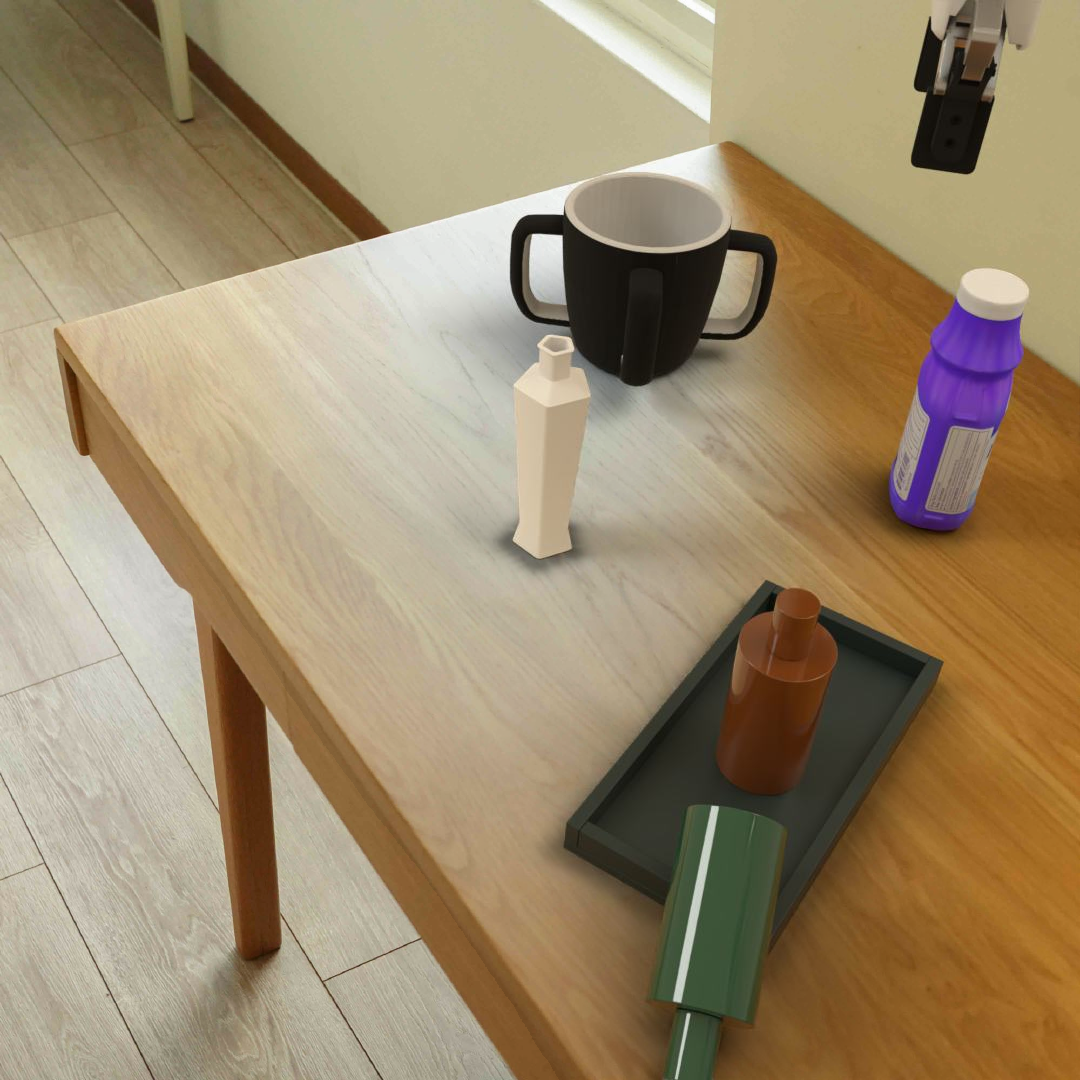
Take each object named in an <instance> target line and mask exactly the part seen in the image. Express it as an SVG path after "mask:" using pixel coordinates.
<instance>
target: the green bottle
mask: <svg viewBox="0 0 1080 1080" xmlns="http://www.w3.org/2000/svg"><path fill="white" fill-rule="evenodd" d="M787 838H788V831H787V829H786V828H785V827H784V826H782V825H781V824H779V823H778V822H776V821H774V820H772V819H769V818H767V817H764V816H762V815H759V814H756V813H752V812H749V811H745V810H741V809H736V808H731V807H725V806H718V805H693V806H689V807H687V808H686V809H685V810H684V814H683V819H682V824H681V829H680V834H679V838H678V843H677V848H676V853H675V858H674V863H673V868H672V872H671V877H670V882H669V887H668V892H667V897H666V902H665V906H663V912H662V917H661V921H660V926H659V931H658V936H657V941H656V946H655V951H654V955H653V961H652V966H651V970H650V975H649V979H648V984H647V989H646V995H645V1000H644V1001H645V1002H646V1004H647V1005H649V1006H651V1007H653V1008H655V1009H658V1010H661V1011H664V1012H666V1013H670V1014H672V1015H673V1018H672V1019H673V1020H672V1024H671V1029H670V1034H669V1039H668V1045H667V1050H666V1054H665V1059H664V1060H665V1061H664V1066H663V1071H662V1076H661V1078H662V1080H714V1076H715V1070H716V1065H717V1060H718V1055H719V1050H720V1049H719V1048H720V1042H721V1038H722V1037H721V1036H722V1034H723V1033H722V1032H723V1028H731V1029H738V1030H754V1029H755V1028H756V1023H757V1017H758V1013H759V1007H760V1006H759V1005H760V1001H761V995H762V989H763V984H764V979H765V978H764V977H765V971H766V965H767V959H768V957H767V954H768V949H769V943H770V937H771V931H772V925H773V920H774V914H775V908H776V902H777V896H778V891H779V885H780V879H781V873H782V867H783V862H784V856H785V850H786V844H787Z"/></svg>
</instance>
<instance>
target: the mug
mask: <svg viewBox="0 0 1080 1080" xmlns="http://www.w3.org/2000/svg"><path fill="white" fill-rule="evenodd" d="M732 222H733V216H732V213H731V210H730V208H729V207H728V204H727V203H726V202H725V201H724V200H723V199H722V198H721V197H720V196H719V195H718V194H717V193H715V192H713V191H712V190H710V189H709V188H707V187H705V186H703V185H701V184H699V183H696V182H694V181H692V180H688V179H685V178H682V177H679V176H675V175H669V174H666V173H658V172H650V171H649V172H648V171H624V172H615V173H610V174H604V175H600V176H596V177H593V178H591V179H588V180H586V181H584V182H582V183H581V184H579V185H577V186H576V187H575V188H573V189H572V190H571V191H570V192H569V194H568V195H567V196H566V199H565V200H564V205H563V213H562V214H556V213H555V214H553V213H552V214H551V213H548V214H547V213H544V214H543V213H542V214H541V213H540V214H539V213H537V214H526V215H524V216H522V217H521V218H519V220H517V222H516V224H515V226H514V227H513V229H512V232H511V237H510V251H509V252H510V253H509V284H510V288H511V294H512V296H513V299H514V301H515V304H516V305H517V308H518V309H519V311H520V313H521V314H522V315H523V316H524V317H525V318H527V319H528V320H530V321H532V322H534V323H537V324H543V325H548V326H557V327H563V328H570V329H569V330H570V333H571V336H572V340H573V342H574V344H575V348H576V350H577V351H578V352H579V354H580V355H581V356H582V357H583V358H584V359H585V360H586V361H587V362H588V363H590V364H592V365H593V366H595V367H596V368H599V369H602V370H603V371H606V372H609V373H612V374H616V375H619V380H620V381H621V382H622V383H623V384H625V385H627V386H631V387H645V386H647V385H649V384H650V383H651V382H652V380H653V377H654V376H659V375H664V374H667V373H669V372H672V371H674V370H676V369H678V368H679V367H681V366H683V364H685V362H687V361H688V359H689V358H690V357H691V356H692V354H693V352H694V350H695V348H696V347H697V345H698V343H699V341H700V340H709V341H710V340H713V341H736V340H740V339H743V338H745V337H747V336H748V335H749V334H751V333H753V331H754V330H755V329H756V327H757V326H758V325H759V323H760V322H761V321H762V319H763V318H764V317H765V314H766V312H767V309H768V306H769V304H770V301H771V296H772V292H773V291H772V290H773V287H774V283H775V278H776V272H777V266H778V265H777V264H778V252H777V248H776V246H775V243H774V242H773V240H772V238H771V237H769V236H767V235H766V234H762V233H757V232H753V231H746V230H739V229H732ZM533 235H546V236H561V237H562V238H561V239H562V241H561V242H562V272H563V284H564V295H565V304H558V303H550V302H545V301H540V300H538V299H537V297H536V296H535V295H534V292H533V291H532V288H531V282H530V255H531V244H532V239H533V238H532V237H533ZM728 251H733V252H745V253H752V254H756V262H755V263H756V264H755V269H754V270H755V271H754V277H753V282H752V287H751V291H750V295H749V298H748V301H747V304H746V305H745V307H744V309H743V310H742V311H741V313H740V314H738V315H737V316H736V317H734V318H720V317H719V318H718V317H717V318H716V317H709V315H710V314H711V313H710V312H711V310H712V307H713V304H714V301H715V298H716V294H717V291H718V289H719V287H720V282H721V279H722V275H723V270H724V266H725V263H726V258H727V253H728Z"/></svg>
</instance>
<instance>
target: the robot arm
mask: <svg viewBox="0 0 1080 1080" xmlns="http://www.w3.org/2000/svg"><path fill="white" fill-rule="evenodd" d="M1044 3H1045V0H930V16H928V20H927V25H926V29H925V33H924V37H923V42H922V44H921V45H922V46H921V50H920V54H919V57H918V61H917V67H916V70H915V74H914V79H913V88H914V90H915V91H916V92H918V93H925V97H924V102H923V106H922V109H921V113H920V118H919V122H918V124H917V125H918V126H917V130H916V134H915V138H914V142H913V146H912V150H911V154H910V163H911V165H912V167H914V168H918V169H924V170H931V171H936V172H937V171H938V172H945V173H950V174H951V173H953V174H958V175H965V176H967V175H971V174H972V173H974V172H975V170H976V167H977V164H978V160H979V157H980V154H981V150H982V146H983V142H984V140H985V135H986V132H987V130H988V129H987V128H988V125H989V122H990V118H991V115H992V111H993V108H994V104H995V100H996V97H995V95H994V94H995V90H996V85H997V82H998V81H997V80H998V75H999V69H1000V65H1001V60H1002V54H1003V49H1004V45H1005V41H1006V34H1007V39H1008V44H1009V45H1015V49H1016V51H1021V52H1023V51H1025V50H1026V49H1028V48H1030V47H1031V46H1032V45H1033V44H1034V42H1035V38H1036V34H1037V30H1038V27H1039V22H1040V18H1041V14H1042V11H1043V6H1044Z"/></svg>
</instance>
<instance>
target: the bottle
mask: <svg viewBox="0 0 1080 1080" xmlns="http://www.w3.org/2000/svg"><path fill="white" fill-rule="evenodd" d="M955 294H956V296H955V299H954V302H953V304H952V306H951V309H950V311H949V312H948V314H947V316H946V317H945V318H944V319H943V320H942V321H941V322H939V323H938V324H937V325H936V326H935V327H934V329H933V330H932V332H931V334H930V339H929V341H930V342H929V343H930V347H931V349H930V350H929V351H928V353H927V354H926V355H925V357H924V359H923V361H922V364H921V366H920V369H919V374H918V376H917V377H918V378H917V384H916V388H915V391H914V395H913V398H912V402H911V406H910V409H909V412H908V414H907V415H908V416H907V418H906V423H905V426H904V429H903V433H902V436H901V438H900V442H899V445H898V449H897V452H896V456H895V458H894V461H893V462H892V465H891V469H890V474H889V484H888V485H889V486H888V487H889V488H888V489H889V492H888V493H889V499H890V504H891V507H892V509H893V511H894V513H895V515H896V517H897V518H898V519H899V520H901V521H902V522H904V523H906V524H908V525H910V526H913V527H916V528H921V529H929V530H934V531H953V530H958V529H959V528H960V527H961V526H962V525H963V524H964V523H965V522H966V521H967V519H968V518H969V517H970V515H971V513H972V512H973V509H974V507H975V503H976V498H977V495H978V491H979V490H980V486H981V483H982V479H983V476H984V473H985V471H986V467H987V464H988V462H989V459H990V455H991V453H992V450H993V447H994V443H995V441H996V438H997V436H998V432H999V429H1000V427H1001V424H1002V420H1004V418H1005V415H1006V413H1007V411H1008V407H1009V403H1010V400H1011V394H1012V388H1013V382H1014V381H1013V380H1014V371H1015V370H1016V369H1017V367H1018V366H1019V365H1020V363H1021V362H1022V360H1023V357H1024V352H1025V351H1024V347H1023V343H1022V339H1021V323H1022V318H1023V315H1024V312H1025V308H1026V304H1027V302H1028V299H1029V297H1030V290H1029V287H1028V285H1027V283H1026V282H1025V281H1024V280H1023V279H1021V278H1020V277H1018V276H1016V275H1015V274H1013V273H1010V272H1008V271H1005V270H1002V269H999V268H998V269H997V268H990V267H989V268H988V267H982V268H975V269H972V270H969V271H967V272H965V273H964V274H963V275H962V277H961V279H960V282H959V286H958V289H957V291H956V293H955Z"/></svg>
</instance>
